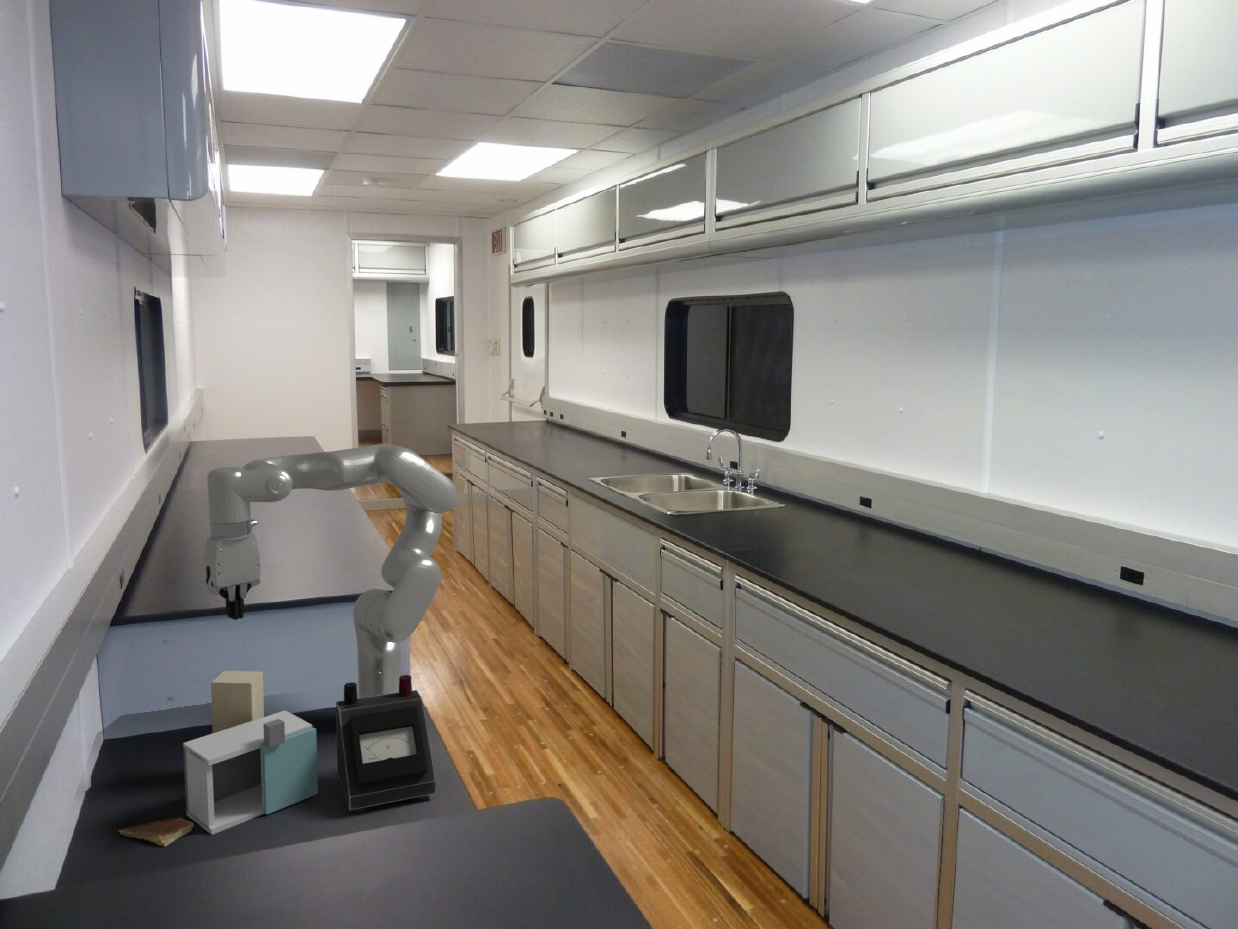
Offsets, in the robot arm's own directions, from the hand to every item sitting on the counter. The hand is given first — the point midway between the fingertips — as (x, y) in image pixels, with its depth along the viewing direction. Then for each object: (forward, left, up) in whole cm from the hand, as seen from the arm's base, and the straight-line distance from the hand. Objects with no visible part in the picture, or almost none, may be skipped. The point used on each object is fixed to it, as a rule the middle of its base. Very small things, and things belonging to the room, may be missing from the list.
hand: (235, 617), depth 180 cm
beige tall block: (+3, +5, -32) cm, 32 cm away
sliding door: (+2, +23, -31) cm, 39 cm away
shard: (+23, +15, -32) cm, 43 cm away
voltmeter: (-14, +31, -32) cm, 46 cm away
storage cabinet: (+7, +17, -31) cm, 36 cm away
